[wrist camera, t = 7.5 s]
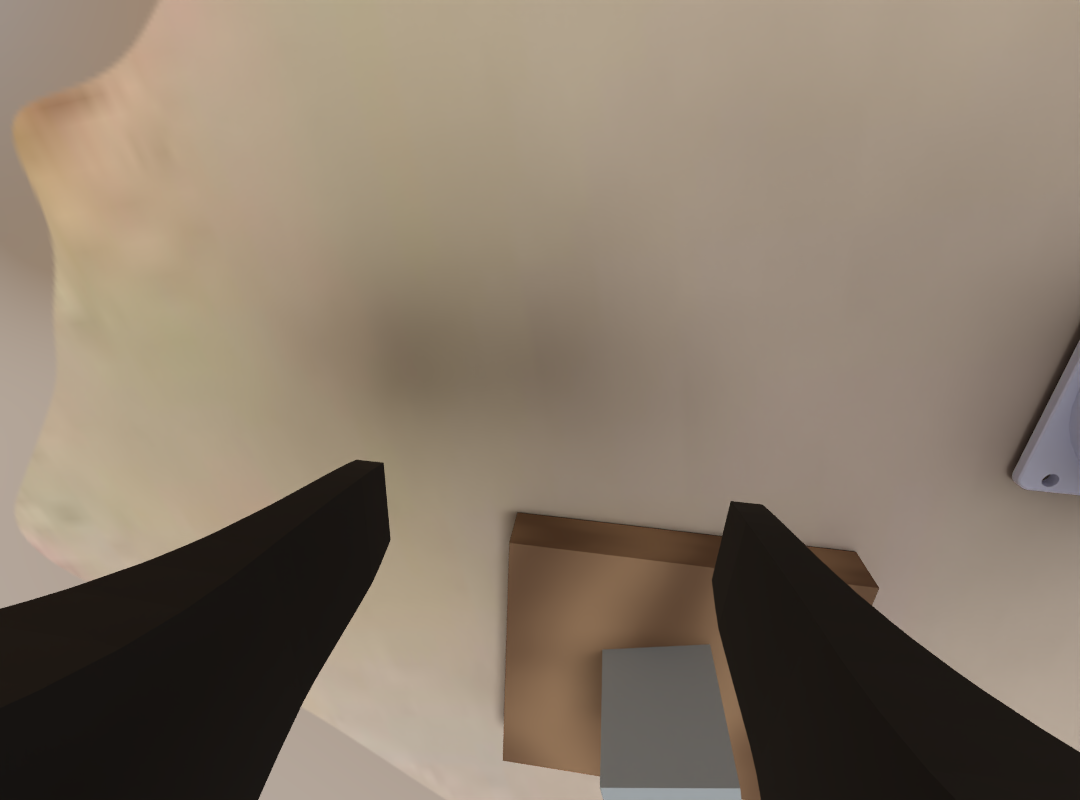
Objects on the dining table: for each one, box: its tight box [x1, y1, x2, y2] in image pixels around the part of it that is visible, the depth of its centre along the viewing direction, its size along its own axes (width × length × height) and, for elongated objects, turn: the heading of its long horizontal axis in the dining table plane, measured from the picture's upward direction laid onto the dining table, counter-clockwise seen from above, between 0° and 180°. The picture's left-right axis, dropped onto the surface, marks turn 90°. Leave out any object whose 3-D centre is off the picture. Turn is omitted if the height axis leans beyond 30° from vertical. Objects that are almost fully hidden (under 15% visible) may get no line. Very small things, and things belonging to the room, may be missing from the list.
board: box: [503, 513, 879, 800], centre depth 24 cm, size 14×14×2 cm
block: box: [600, 644, 741, 800], centre depth 20 cm, size 4×4×6 cm
